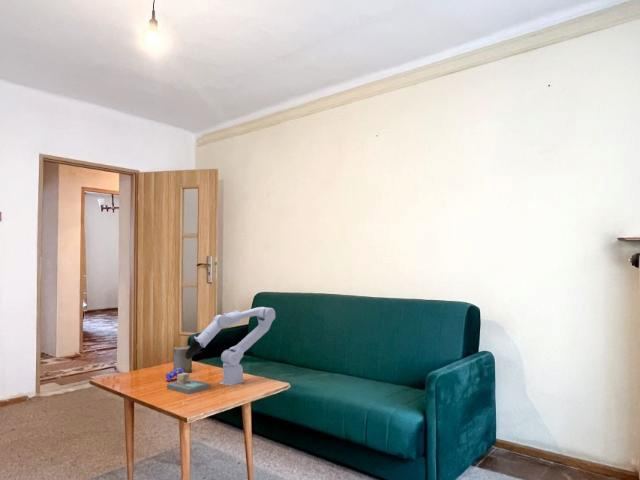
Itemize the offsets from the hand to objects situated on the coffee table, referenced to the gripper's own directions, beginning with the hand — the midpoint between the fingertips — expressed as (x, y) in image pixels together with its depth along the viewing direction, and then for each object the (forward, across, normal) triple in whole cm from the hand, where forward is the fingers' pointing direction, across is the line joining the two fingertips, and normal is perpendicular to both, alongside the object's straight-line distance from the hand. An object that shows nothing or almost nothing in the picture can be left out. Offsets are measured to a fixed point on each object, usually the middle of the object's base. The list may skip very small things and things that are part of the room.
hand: (186, 356), depth 197 cm
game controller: (+9, -27, +1) cm, 28 cm away
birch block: (+9, -12, +8) cm, 17 cm away
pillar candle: (+2, -42, 0) cm, 42 cm away
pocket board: (+9, -9, +10) cm, 16 cm away
